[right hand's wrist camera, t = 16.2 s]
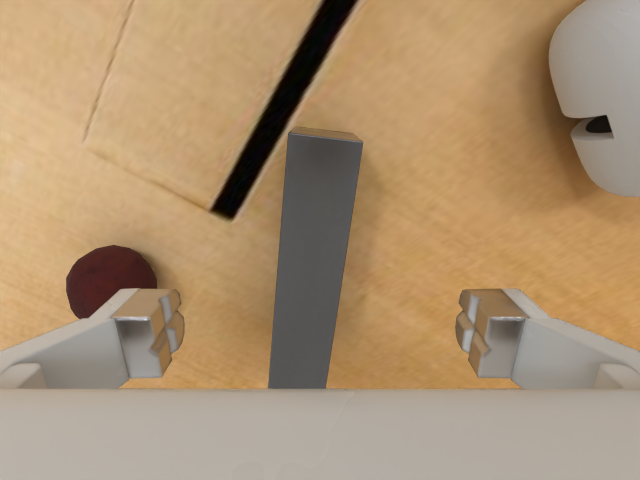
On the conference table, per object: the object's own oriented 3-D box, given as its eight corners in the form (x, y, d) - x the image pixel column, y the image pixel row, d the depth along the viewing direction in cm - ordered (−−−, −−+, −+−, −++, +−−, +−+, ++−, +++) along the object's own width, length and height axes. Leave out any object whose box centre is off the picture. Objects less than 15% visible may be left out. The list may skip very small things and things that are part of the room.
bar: (295, 126, 32) (288, 132, 25) (353, 133, 32) (363, 141, 25) (277, 341, 40) (267, 393, 33) (323, 346, 41) (324, 398, 33)
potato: (102, 300, 38) (58, 341, 32) (89, 233, 36) (37, 263, 29) (171, 303, 38) (140, 344, 32) (163, 236, 36) (127, 266, 29)
